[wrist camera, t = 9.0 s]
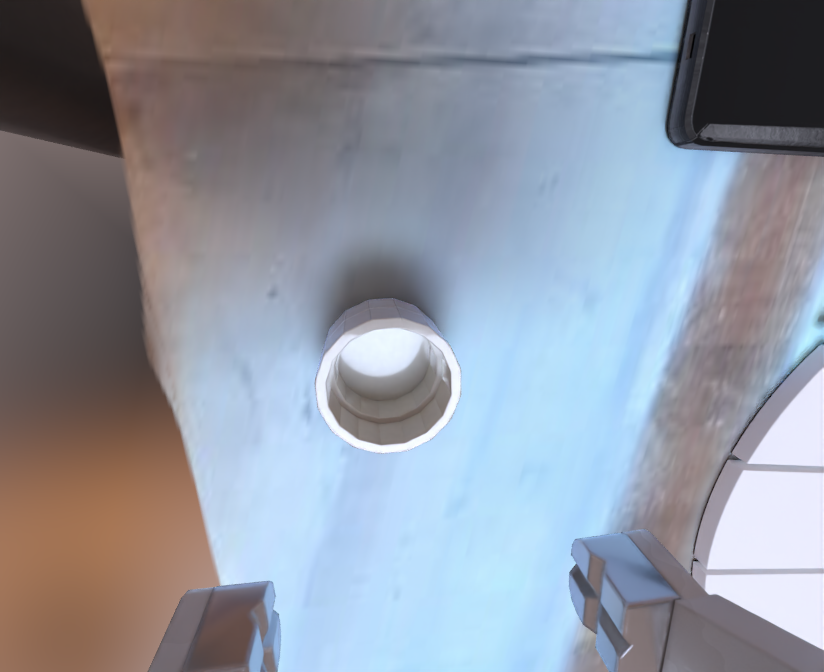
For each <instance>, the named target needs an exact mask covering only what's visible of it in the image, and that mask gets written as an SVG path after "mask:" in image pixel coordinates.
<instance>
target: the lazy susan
mask: <svg viewBox="0 0 824 672" xmlns="http://www.w3.org/2000/svg"><path fill="white" fill-rule="evenodd" d="M732 454H733V455H735V456H736V457H738V458H739V459H741V460H727V462H726V464H725V466H724V468H723V470H722V472H721V474H720V476H719V478H718V480H717V482H716V484H715V487H714V489H713V491H712V494H711V496H710V499H709V501H708V504H707V506H706V509H705V512H704V515H703V518H702V522H701V525H700V529H699V533H698V537H697V541H696V547H695V552H694V557H695V558H696V559H697V560H698V561H693V569H692V577H693V578H694V579H695V580H696V581H697V582H698V583H699V585H700V586H701V587H702V588H703V589H704V590H705V591H706V592H707V593H708V594H709V595H713V594H718V595H719V596H721V597H723V598H725V599H727V600H729V601H731V602H733V603H735V604H737V605H739V606H740V607H742V608H744V609H746V610H748V611H750V612H752V613H754V614H756V615H758V616H759V617H761V618H763V619H765V620H767V621H769V622H771V623H773V624H775V625H777V626H778V627H780V628H782V629H784V630H786V631H788V632H790V633H792V634H794V635H796V636H797V637H799V638H801V639H803V640H805V641H807V642H809V643H811V644H813V645H815V646H816V647H818V648H820V649H822V650H824V345H819V346H818V347H817V348H816V349H815V350H814V351H813V352H812V353H811V354H810V355H809V356H808V357H807V358H806V359H805V360H804V361H803V362H802V363H801V364H800V365H799V366H798V367H797V368H796V369H795V370H794V371H793V372H792V373H791V374H790V375H789V376H788V377H787V378H786V380H785V381H784V382H783V383H782V384H781V385H780V386H779V388H778V389H777V390H776V391H775V392H774V393H773V395H772V396H771V397H770V398H769V399H768V401H767V402H766V403H765V405H764V406H763V407H762V408H761V410H760V411H759V412H758V414H757V415H756V416H755V418H754V419H753V421H752V422H751V423H750V425H749V426H748V428H747V429H746V431H745V432H744V434H743V435H742V437H741V438H740V440H739V442H738V443H737V445H736V447H735V448H734V450H733V452H732Z"/></svg>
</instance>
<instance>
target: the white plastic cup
mask: <svg viewBox="0 0 824 672" xmlns="http://www.w3.org/2000/svg"><path fill="white" fill-rule="evenodd" d="M315 390H316V399H317V407H318V410H319V412H320V413H321V415H322V417H323V418H324V420H325V421H326V423H327V425H328V426H329V428H330V430H331V431H332V432H333V433H334V434H336V435H337V436H339V437H340V438H341V439H343V440H344V441H345V442H347V443H348V444H350V445H351V446H352V447H355V448H358V449H362V450H366V451H370V452H374V453H378V454H384V453H394V452H403V451H407V450H408V451H409V450H411V449H413V448H415V447H417V446H419V445H421V444H423V443H425V442H427V441H429V440H431V439H433V438H434V437H435V436H436V435H437V434H438V433H439V432H440V431H441V430H442V429H443V428H444V426H445V425H446V424H447V423H448V422H449V421H450V419H451V418H452V416H453V414H454V411H455V409H456V407H457V404H458V402H459V399H460V397H461V368H460V366H459V363H458V361H457V359H456V357H455V355H454V352H453V350H452V348H451V346H450V344H449V343H448V342H447V340H446V339H445V337H444V336H443V335H442V333H441V332H440V331H439V329H438V328H437V326H436V325H435V323H434V322H433V321H432V320H431V319H430V318H429V317H428V316H427V315H426V314H424V313H423V312H422V311H421V310H420V309H419V308H418V307H416V306H415V305H412V304H409V303H406V302H403V301H400V300H397V299H394V298H386V299H370V300H366V301H364V302H362V303H360V304H358V305H356V306H354V307H352V308H350V309H348V310H346V311H344V313H343V314H342V315H341V316H340V317H339V318H338V319H337V320H336V322H335V323H334V324H333V325H332V326H331V327H330V329H329V331H328V334H327V337H326V340H325V343H324V346H323V349H322V353H321V357H320V361H319V365H318V370H317V374H316V378H315Z"/></svg>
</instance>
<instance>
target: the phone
mask: <svg viewBox="0 0 824 672" xmlns="http://www.w3.org/2000/svg"><path fill="white" fill-rule="evenodd" d="M668 133H669V137H670V139H671V141H672V142H673V144H675V145H676V146H677V147H679V148H683V149H693V150H711V151H730V152H748V153H766V154H784V155H802V156H820V157H824V0H690V4H689V9H688V15H687V20H686V26H685V31H684V37H683V42H682V48H681V53H680V59H679V64H678V70H677V75H676V81H675V86H674V92H673V97H672V103H671V108H670V114H669V119H668Z"/></svg>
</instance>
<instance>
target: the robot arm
mask: <svg viewBox="0 0 824 672" xmlns="http://www.w3.org/2000/svg"><path fill="white" fill-rule="evenodd" d="M571 555H572V557H573V559H574V560H575V562H576V565H575V566H574V567H573V568H572V570H571V571H570V572H569V589H570V594H571V599H572V602H573V605H574V607H575V610H576V612H577V614H578V616H579V618H580V620H581V622H582V624H583V625H584V626H586V627H587V628H588V629H590V630H591V631H593V632H594V633H595V634H597V637H596V649H597V651H598V653H599V654H600V656H601V658H602V660H603V662H604V663H605V665H606V667H607V669H608V670H609V672H824V650H822V649H820V648H818V647H816V646H815V645H813V644H811V643H809V642H807V641H805V640H803V639H801V638H799V637H797V636H796V635H794V634H792V633H790V632H788V631H786V630H784V629H782V628H780V627H778V626H777V625H775V624H773V623H771V622H769V621H767V620H765V619H763V618H761V617H759V616H758V615H756V614H754V613H752V612H750V611H748V610H746V609H744V608H742V607H740V606H739V605H737V604H735V603H733V602H731V601H729V600H727V599H725V598H723V597H721V596H719V595H718V594H713V595H709V594H708V593H707V592H706V591H705V590H704V589H703V588H702V587H701V586H700V585H699V583H698V582H697V581H696V580H695V579H694V578H693V577H692V576H691V575H690V574H689V573H688V572H687V571H686V570H685V568H684V567H683V566H682V565H681V564H680V563H679V562H678V561H677V560H676V559H675V558H674V557H673V556H672V555H671V553H670V552H669V551H668V550H667V549H666V548H665V547H664V546H663V545H662V544H661V543H660V542H659V541H658V540H657V538H656V537H655V536H654V535H653V534H652V533H651V532H649V531H647V530H645V529H641V530H634V531H627V532H621V533H614V534H607V535H600V536H593V537H586V538H579V539H575V540H574V542H573V544H572V550H571ZM275 597H276V595H275V590H274V585H273V582H272V581H262V582H253V583H244V584H235V585H225V586H217V587H213V588H203V589H195V590H188V591H187V592H186V593H185V594H184V596H183V597H182V598H181V600H180V602H179V604H178V606H177V608H176V611H175V613H174V615H173V617H172V619H171V621H170V624H169V626H168V628H167V630H166V632H165V635H164V637H163V639H162V641H161V643H160V646H159V648H158V650H157V652H156V655H155V657H154V659H153V661H152V663H151V665H150V668H149V670H148V672H277V671H278V665H279V658H280V645H281V628H280V619H279V614H278V613H277V612H276V611H274V610H273V607H274V602H275Z"/></svg>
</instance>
